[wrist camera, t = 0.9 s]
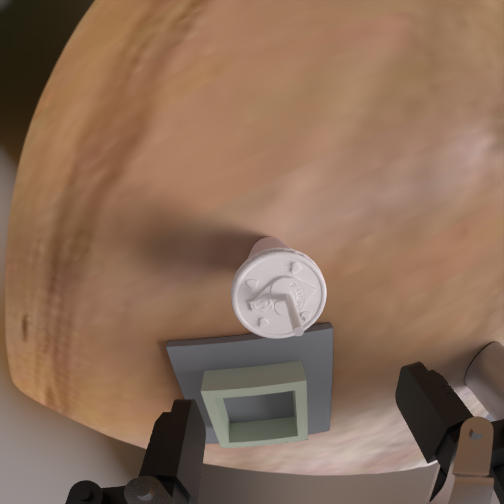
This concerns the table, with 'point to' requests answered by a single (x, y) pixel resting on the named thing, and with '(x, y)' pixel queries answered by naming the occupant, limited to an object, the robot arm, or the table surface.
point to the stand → (258, 385)
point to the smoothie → (277, 290)
